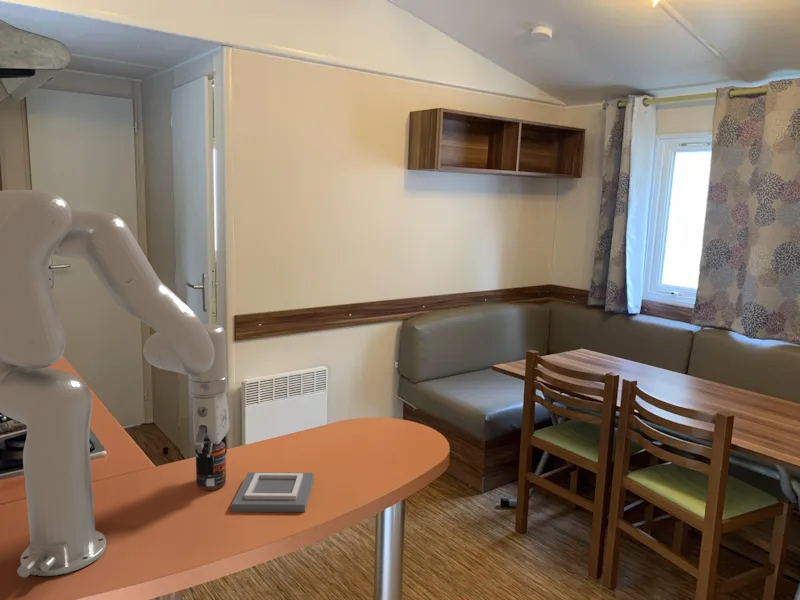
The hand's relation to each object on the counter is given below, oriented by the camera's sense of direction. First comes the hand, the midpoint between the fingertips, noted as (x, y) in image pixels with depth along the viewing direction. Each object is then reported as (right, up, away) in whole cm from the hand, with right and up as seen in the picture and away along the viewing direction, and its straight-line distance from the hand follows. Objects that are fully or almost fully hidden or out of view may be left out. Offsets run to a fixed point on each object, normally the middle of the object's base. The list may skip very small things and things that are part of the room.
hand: (212, 463), depth 129 cm
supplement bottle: (0, -5, 0) cm, 5 cm away
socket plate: (+14, -5, -3) cm, 15 cm away
